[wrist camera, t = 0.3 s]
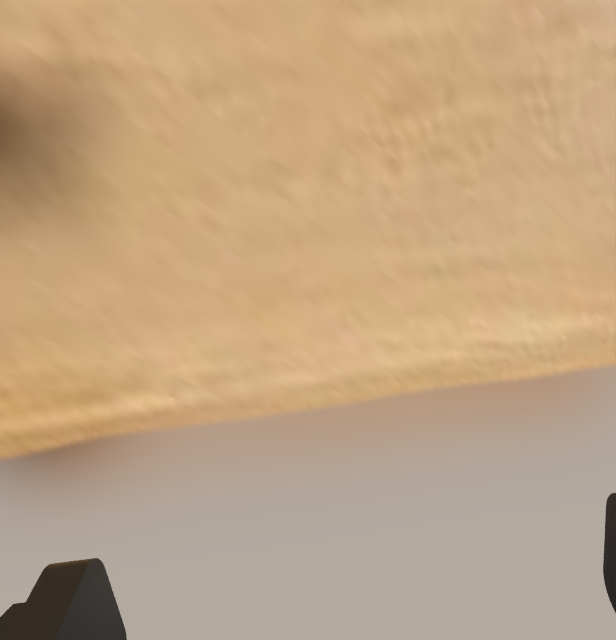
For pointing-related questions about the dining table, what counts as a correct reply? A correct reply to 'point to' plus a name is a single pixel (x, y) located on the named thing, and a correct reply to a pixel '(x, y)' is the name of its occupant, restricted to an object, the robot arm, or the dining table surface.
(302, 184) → the dining table surface
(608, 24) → the dining table surface
